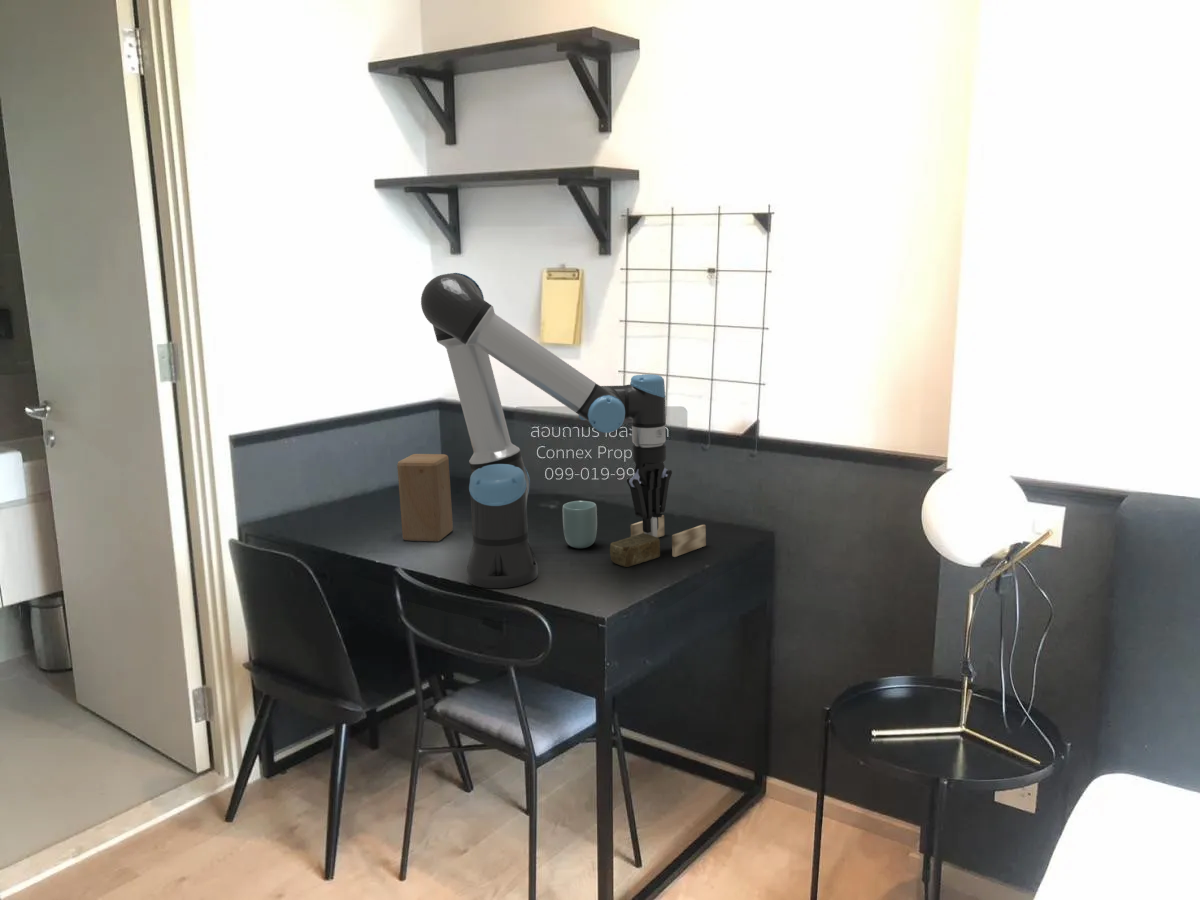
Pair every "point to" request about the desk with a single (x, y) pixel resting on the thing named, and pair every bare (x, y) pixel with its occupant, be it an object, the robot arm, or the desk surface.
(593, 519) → the cup
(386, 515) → the desk surface
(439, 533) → the wooden block
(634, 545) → the stone block
